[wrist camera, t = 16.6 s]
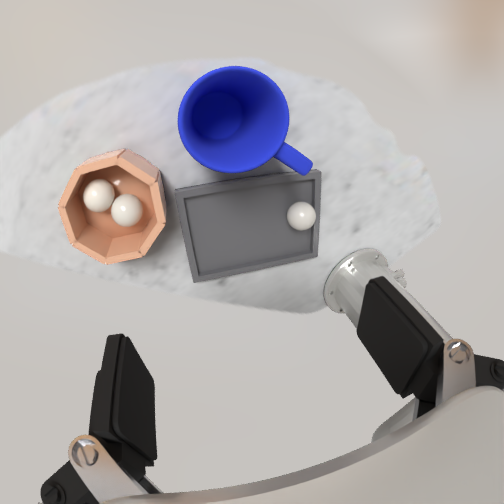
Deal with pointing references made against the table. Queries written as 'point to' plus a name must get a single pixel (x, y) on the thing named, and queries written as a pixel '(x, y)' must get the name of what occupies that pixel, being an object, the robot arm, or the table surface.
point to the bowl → (101, 223)
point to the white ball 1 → (98, 195)
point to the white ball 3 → (301, 216)
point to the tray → (247, 223)
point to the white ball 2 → (127, 210)
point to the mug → (237, 122)
